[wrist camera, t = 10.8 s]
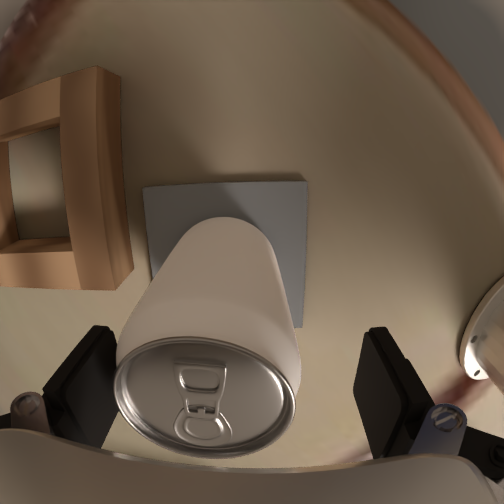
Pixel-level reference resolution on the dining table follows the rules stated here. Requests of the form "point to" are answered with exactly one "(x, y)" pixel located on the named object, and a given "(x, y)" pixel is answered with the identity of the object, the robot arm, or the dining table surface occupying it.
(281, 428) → the can
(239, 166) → the dining table surface
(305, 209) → the coaster
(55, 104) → the pocket block
